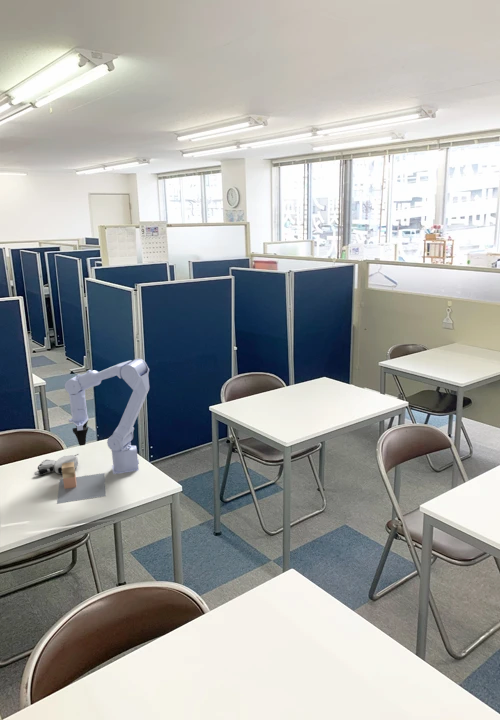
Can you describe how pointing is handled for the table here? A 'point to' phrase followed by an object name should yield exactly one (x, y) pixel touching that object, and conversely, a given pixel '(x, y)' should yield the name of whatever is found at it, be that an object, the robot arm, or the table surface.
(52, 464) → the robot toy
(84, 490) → the baseplate
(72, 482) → the base brick
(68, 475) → the top brick
